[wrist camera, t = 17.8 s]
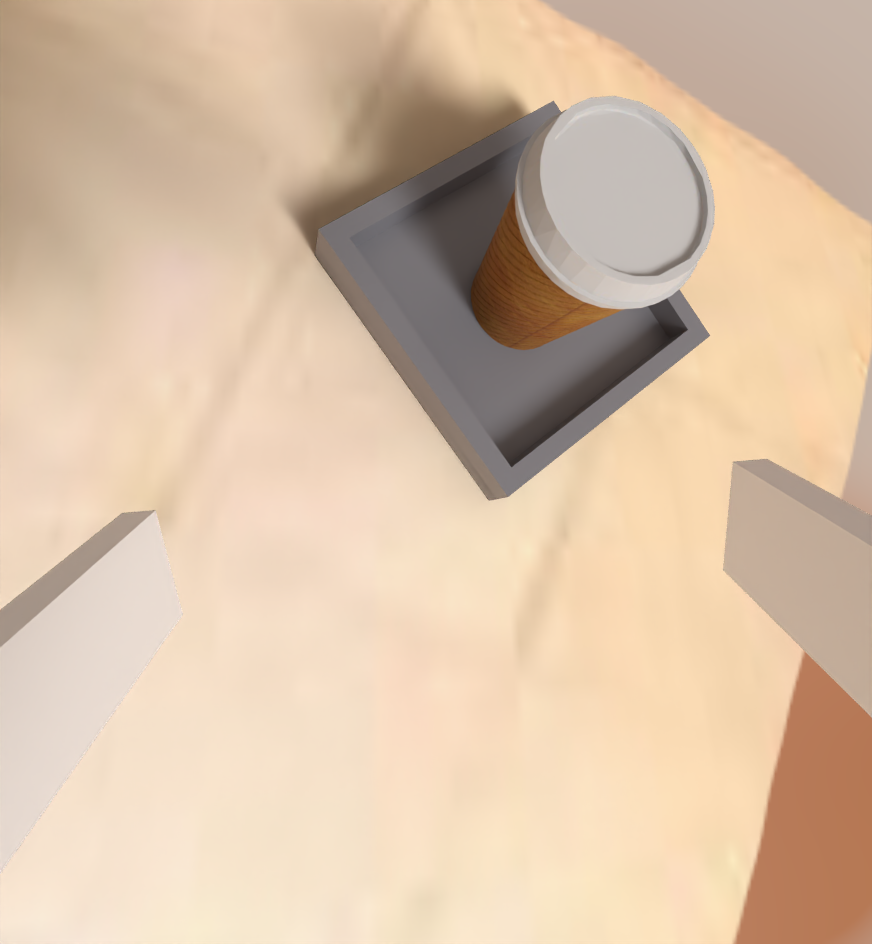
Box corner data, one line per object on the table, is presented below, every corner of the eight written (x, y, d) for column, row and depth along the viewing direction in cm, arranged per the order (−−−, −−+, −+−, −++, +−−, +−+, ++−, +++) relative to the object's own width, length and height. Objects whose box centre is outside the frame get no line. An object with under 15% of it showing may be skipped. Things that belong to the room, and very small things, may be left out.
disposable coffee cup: (504, 200, 37) (608, 44, 25) (611, 301, 38) (757, 197, 26) (413, 302, 34) (484, 180, 23) (531, 406, 35) (654, 342, 24)
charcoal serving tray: (314, 255, 34) (318, 229, 31) (533, 133, 39) (553, 100, 36) (488, 500, 35) (508, 496, 32) (679, 350, 40) (710, 335, 38)
